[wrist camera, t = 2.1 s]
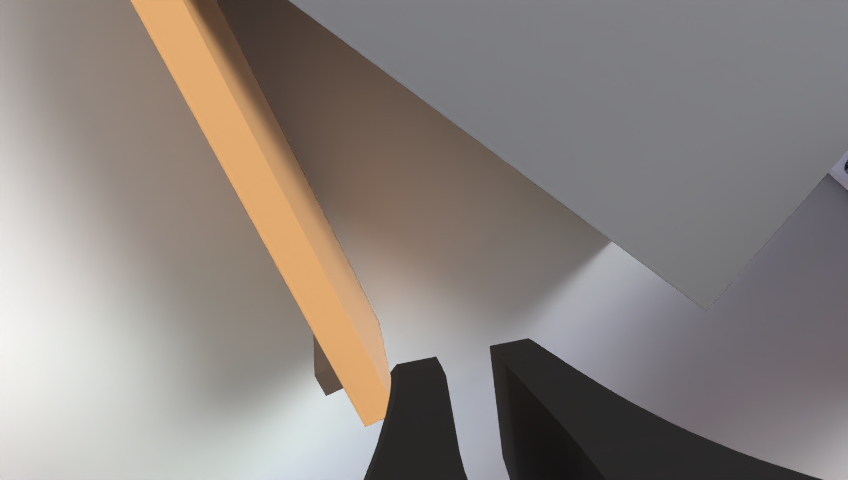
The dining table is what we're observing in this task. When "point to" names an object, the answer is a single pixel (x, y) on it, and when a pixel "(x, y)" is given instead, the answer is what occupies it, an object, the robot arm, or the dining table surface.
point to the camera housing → (634, 109)
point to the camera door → (274, 196)
